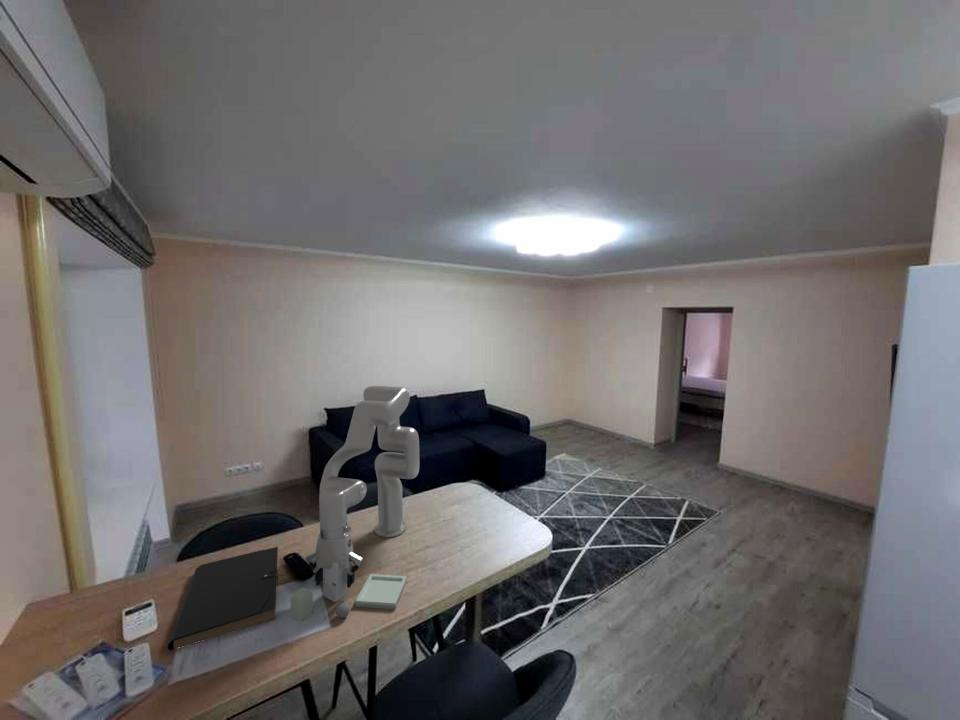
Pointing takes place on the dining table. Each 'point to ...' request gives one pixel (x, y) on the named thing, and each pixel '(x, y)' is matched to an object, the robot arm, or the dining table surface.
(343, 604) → the grey ball
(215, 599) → the file folder
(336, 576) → the skincare box
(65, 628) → the dining table surface
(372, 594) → the tray
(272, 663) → the dining table surface
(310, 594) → the sage block
